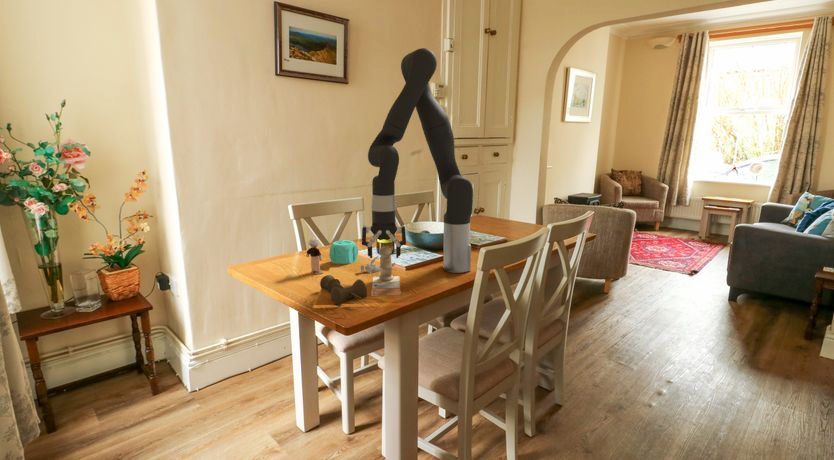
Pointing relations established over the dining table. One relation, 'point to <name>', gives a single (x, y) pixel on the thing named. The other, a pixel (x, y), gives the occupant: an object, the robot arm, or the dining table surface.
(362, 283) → the kendama
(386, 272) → the pawn
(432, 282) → the dining table surface
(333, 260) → the decorative dice
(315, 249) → the grandmother figurine
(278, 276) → the dining table surface
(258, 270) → the dining table surface
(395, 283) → the board
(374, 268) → the soldier figure
